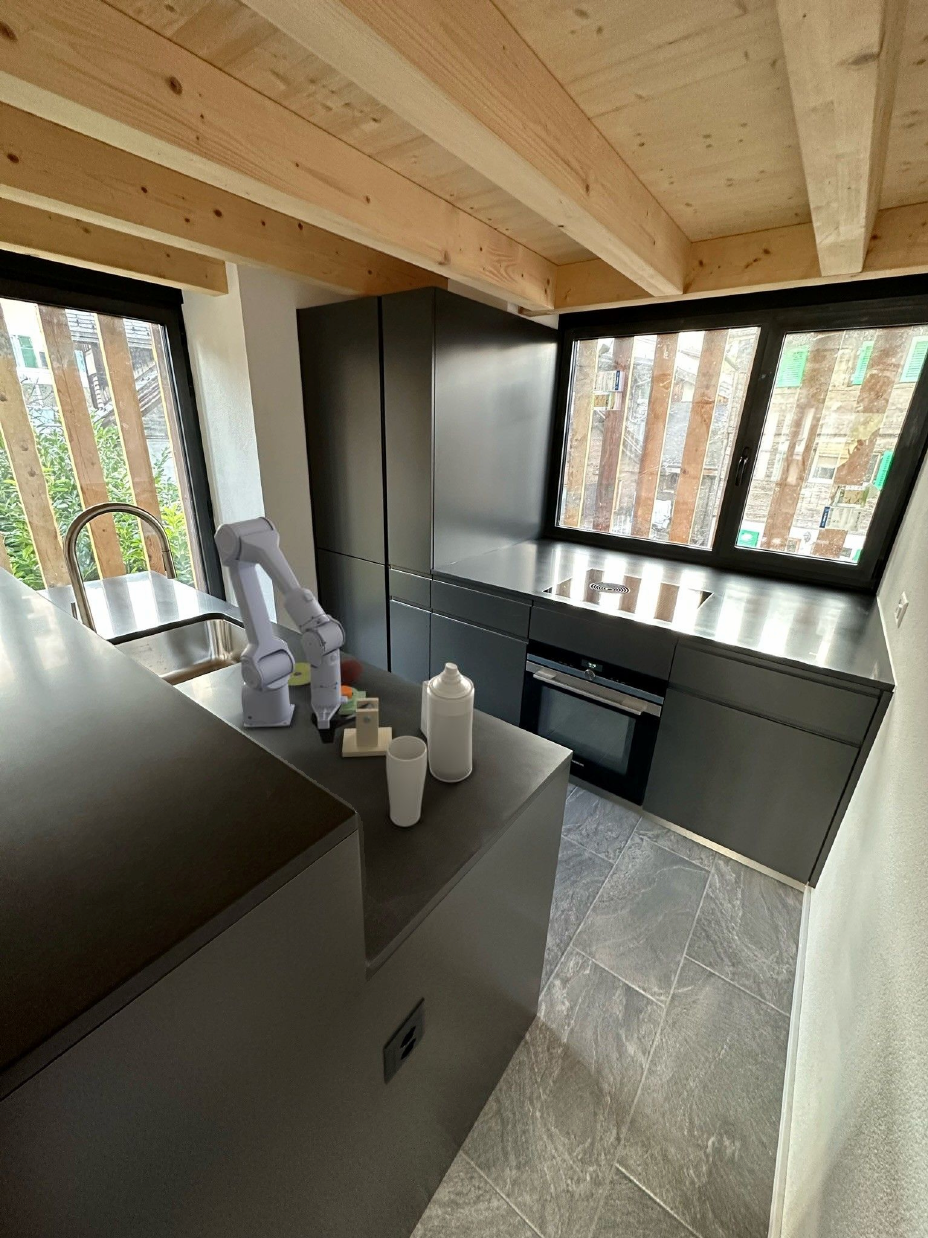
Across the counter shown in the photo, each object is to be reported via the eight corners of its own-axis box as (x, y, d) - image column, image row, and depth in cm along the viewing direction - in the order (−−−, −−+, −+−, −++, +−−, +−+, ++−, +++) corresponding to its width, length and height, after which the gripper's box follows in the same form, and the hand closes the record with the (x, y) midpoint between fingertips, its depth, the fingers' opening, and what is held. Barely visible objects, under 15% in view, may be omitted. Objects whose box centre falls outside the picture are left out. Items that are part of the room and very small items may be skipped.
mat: (314, 665, 137) (314, 659, 136) (326, 685, 128) (326, 679, 127) (270, 674, 132) (269, 667, 131) (279, 695, 123) (279, 688, 122)
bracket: (342, 757, 104) (340, 716, 100) (344, 733, 111) (343, 694, 107) (392, 755, 106) (392, 715, 102) (391, 731, 113) (391, 693, 109)
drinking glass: (418, 835, 87) (421, 764, 81) (380, 827, 88) (380, 756, 82) (428, 806, 93) (432, 739, 87) (393, 799, 94) (393, 732, 88)
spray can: (484, 786, 99) (495, 673, 89) (431, 797, 95) (436, 681, 85) (463, 749, 109) (471, 644, 99) (414, 758, 105) (417, 650, 95)
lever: (323, 742, 105) (315, 730, 103) (324, 732, 108) (317, 721, 106) (376, 719, 104) (369, 707, 103) (377, 710, 107) (370, 699, 106)
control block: (319, 715, 117) (319, 704, 115) (323, 696, 124) (322, 685, 123) (364, 714, 118) (364, 703, 117) (365, 695, 125) (365, 684, 124)
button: (333, 700, 118) (333, 694, 117) (335, 691, 121) (334, 685, 121) (351, 700, 118) (351, 694, 118) (352, 690, 122) (352, 685, 121)
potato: (320, 686, 128) (319, 664, 125) (350, 670, 136) (349, 650, 133) (341, 696, 124) (340, 674, 122) (370, 679, 132) (370, 658, 130)
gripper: (344, 699, 95) (346, 758, 100) (348, 661, 108) (350, 716, 113) (304, 700, 94) (309, 760, 99) (313, 662, 107) (317, 717, 112)
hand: (328, 737), depth 106 cm, fingers closed on lever, 3 cm apart
